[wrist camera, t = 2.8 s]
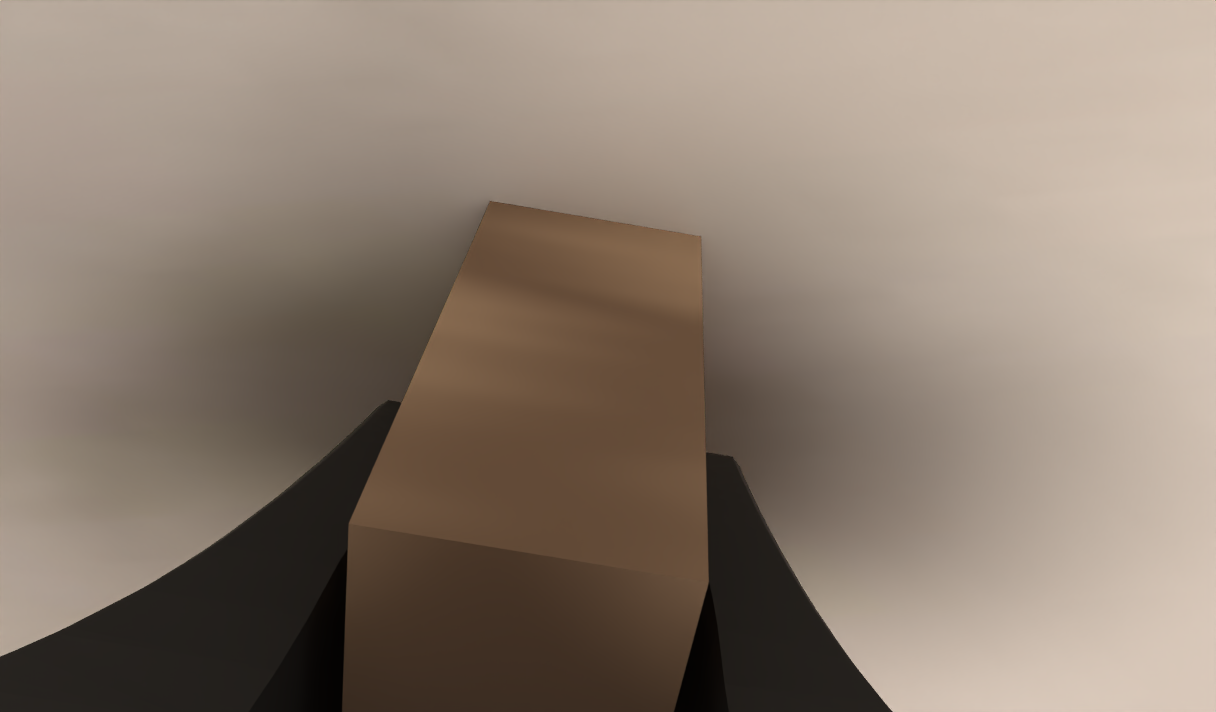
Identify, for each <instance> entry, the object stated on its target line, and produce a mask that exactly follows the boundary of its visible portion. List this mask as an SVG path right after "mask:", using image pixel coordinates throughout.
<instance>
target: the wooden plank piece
mask: <svg viewBox="0 0 1216 712" xmlns="http://www.w3.org/2000/svg"><path fill="white" fill-rule="evenodd" d="M708 583H709V573H708V528H707V483H706V438H705V393H704V348H703V303H702V258H701V237H700V236H695V235H689V234H683V233H677V232H671V231H665V230H659V229H653V228H647V227H641V226H635V225H629V224H623V223H617V222H611V221H605V220H599V219H594V218H588V217H582V216H576V215H570V214H564V213H558V212H552V211H546V210H540V209H534V208H528V207H522V206H516V205H510V204H504V203H498V202H492V201H490V203H489V205H488V207H487V209H486V212H485V214H484V216H483V219H482V221H481V223H480V225H479V228H478V230H477V232H476V235H475V237H474V239H473V241H472V244H471V246H470V248H469V251H468V253H467V255H466V257H465V260H464V262H463V264H462V266H461V269H460V271H459V273H458V276H457V278H456V280H455V282H454V285H453V287H452V289H451V292H450V294H449V296H448V298H447V301H446V303H445V305H444V307H443V310H442V312H441V314H440V317H439V319H438V321H437V323H436V326H435V328H434V330H433V333H432V335H431V337H430V339H429V342H428V344H427V346H426V348H425V351H424V353H423V355H422V358H421V360H420V362H419V364H418V367H417V369H416V371H415V374H414V376H413V378H412V380H411V383H410V385H409V387H408V389H407V392H406V394H405V396H404V399H403V401H402V403H401V405H400V408H399V410H398V412H397V415H396V417H395V419H394V421H393V424H392V426H391V428H390V430H389V433H388V435H387V437H386V440H385V442H384V444H383V446H382V449H381V451H380V453H379V456H378V458H377V460H376V462H375V465H374V467H373V469H372V472H371V474H370V476H369V478H368V481H367V483H366V485H365V487H364V490H363V492H362V494H361V497H360V499H359V501H358V503H357V506H356V508H355V510H354V513H353V515H352V517H351V519H350V522H349V527H348V556H347V585H346V613H345V642H344V671H343V700H342V712H674V709H675V706H676V702H677V698H678V695H679V691H680V687H681V683H682V680H683V676H684V672H685V669H686V665H687V661H688V657H689V654H690V650H691V646H692V643H693V639H694V635H695V631H696V628H697V624H698V620H699V617H700V613H701V609H702V605H703V602H704V598H705V594H706V591H707V587H708Z"/></svg>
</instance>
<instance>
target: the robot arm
mask: <svg viewBox="0 0 1216 712" xmlns="http://www.w3.org/2000/svg"><path fill="white" fill-rule="evenodd" d="M400 405H401V402H395V401H389V400H388V401H387V402H385V403H384V404H382V405H381V406H379V407H378V408H377V409H376V410H375V411H374V412H373V413H372V414H371V415H370V416H369V417H368V418H366V419H365V420H364V421H363V422H362V423H361V424H360V425H359V426H358V427H357V428H356V429H355V430H354V431H353V432H352V433H351V434H350V435H349V436H347V437H346V438H345V439H344V440H343V441H342V442H341V443H340V444H339V445H338V446H336V447H335V448H334V449H333V450H332V451H331V452H330V453H329V454H328V455H326V456H325V457H324V458H323V459H322V460H321V461H320V462H319V463H317V464H316V465H315V466H314V467H313V468H311V469H310V470H309V471H308V472H307V473H305V474H304V475H303V476H302V477H301V478H299V479H298V480H297V481H296V482H295V483H293V484H292V485H291V486H290V487H289V488H288V489H286V490H285V491H284V492H283V493H281V494H280V495H279V496H278V497H276V498H275V499H274V500H273V501H271V502H270V503H269V504H267V505H266V506H265V507H263V508H262V509H261V510H259V511H258V512H257V513H255V514H254V515H253V516H251V517H250V518H248V519H247V520H246V521H244V522H243V523H242V524H240V525H239V526H238V527H236V528H235V529H234V530H232V531H231V532H230V533H228V534H227V535H226V536H224V537H223V538H221V539H220V540H218V541H217V542H215V543H214V544H212V545H211V546H210V547H208V548H207V549H205V550H204V551H202V552H201V553H199V554H198V555H196V556H194V557H193V558H191V559H190V560H188V561H187V562H185V563H184V564H182V565H180V566H179V567H177V568H175V569H174V570H172V571H171V572H169V573H167V574H166V575H164V576H162V577H161V578H159V579H157V580H156V581H154V582H152V583H151V584H149V585H147V586H146V587H144V588H142V589H140V590H138V591H136V592H135V593H133V594H131V595H129V596H127V597H125V598H123V599H121V600H119V601H117V602H115V603H113V604H111V605H109V606H107V607H106V608H104V609H102V610H100V611H98V612H96V613H94V614H92V615H90V616H88V617H86V618H84V619H82V620H80V621H78V622H76V623H74V624H72V625H70V626H69V627H67V628H64V629H62V630H60V631H58V632H56V633H54V634H51V635H49V636H47V637H45V638H42V639H40V640H38V641H36V642H33V643H31V644H29V645H27V646H24V647H22V648H20V649H18V650H15V651H13V652H11V653H8V654H6V655H3V656H1V657H0V712H342V700H343V671H344V642H345V613H346V585H347V556H348V527H349V522H350V519H351V517H352V515H353V513H354V510H355V508H356V506H357V503H358V501H359V499H360V497H361V494H362V492H363V490H364V487H365V485H366V483H367V481H368V478H369V476H370V474H371V472H372V469H373V467H374V465H375V462H376V460H377V458H378V456H379V453H380V451H381V449H382V446H383V444H384V442H385V440H386V437H387V435H388V433H389V430H390V428H391V426H392V424H393V421H394V419H395V417H396V415H397V412H398V410H399V408H400ZM706 483H707V528H708V573H709V583H708V587H707V591H706V594H705V598H704V602H703V605H702V609H701V613H700V617H699V620H698V624H697V628H696V631H695V635H694V639H693V643H692V646H691V650H690V654H689V657H688V661H687V665H686V669H685V672H684V676H683V680H682V683H681V687H680V691H679V695H678V698H677V702H676V706H675V709H674V712H892V711H891V710H890V708H889V707H888V706H887V705H886V704H885V703H884V701H883V700H882V699H881V698H880V696H879V695H878V694H877V693H876V691H875V690H874V689H873V688H872V686H871V685H870V684H869V683H868V682H867V680H866V679H865V678H864V677H863V675H862V674H861V673H860V672H859V670H858V669H857V668H856V666H855V665H854V663H853V662H852V661H851V659H850V658H849V657H848V655H847V654H846V653H845V651H844V650H843V648H842V647H841V646H840V644H839V643H838V641H837V640H836V638H835V637H834V635H833V634H832V632H831V631H830V629H829V628H828V626H827V625H826V624H825V622H824V621H823V619H822V618H821V616H820V615H819V613H818V612H817V610H816V609H815V607H814V605H813V604H812V602H811V601H810V599H809V597H808V596H807V594H806V593H805V591H804V589H803V588H802V586H801V584H800V583H799V581H798V579H797V577H796V576H795V574H794V572H793V571H792V569H791V567H790V565H789V564H788V562H787V560H786V559H785V557H784V555H783V553H782V552H781V550H780V548H779V546H778V544H777V543H776V541H775V539H774V537H773V535H772V533H771V531H770V529H769V527H768V526H767V524H766V522H765V520H764V518H763V516H762V514H761V512H760V510H759V508H758V506H757V504H756V502H755V500H754V498H753V495H752V493H751V491H750V489H749V487H748V485H747V483H746V480H745V478H744V476H743V474H742V471H741V469H740V467H739V465H738V464H737V462H736V461H735V460H734V458H733V457H730V456H724V455H718V454H712V453H706Z"/></svg>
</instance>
